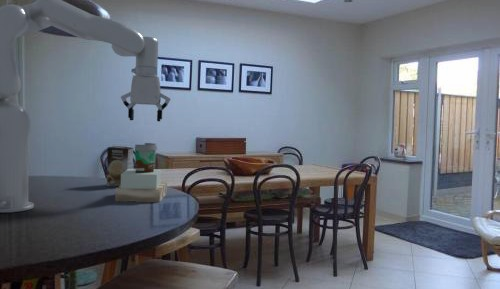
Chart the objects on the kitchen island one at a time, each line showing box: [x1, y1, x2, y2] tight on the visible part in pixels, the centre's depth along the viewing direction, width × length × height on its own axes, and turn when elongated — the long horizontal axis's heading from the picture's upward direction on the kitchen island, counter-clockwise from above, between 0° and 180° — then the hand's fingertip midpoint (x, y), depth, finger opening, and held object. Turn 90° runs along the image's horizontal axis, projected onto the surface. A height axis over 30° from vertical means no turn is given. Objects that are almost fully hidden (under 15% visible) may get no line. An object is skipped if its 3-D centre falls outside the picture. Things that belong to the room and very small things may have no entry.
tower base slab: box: [114, 181, 168, 203], centre depth 159 cm, size 17×15×5 cm
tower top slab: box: [121, 168, 162, 189], centre depth 158 cm, size 16×12×5 cm
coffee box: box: [106, 146, 134, 187], centre depth 183 cm, size 9×6×16 cm
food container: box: [134, 142, 158, 173], centre depth 158 cm, size 12×6×10 cm, turn 177°
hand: (145, 120), depth 157 cm, fingers open, 9 cm apart
